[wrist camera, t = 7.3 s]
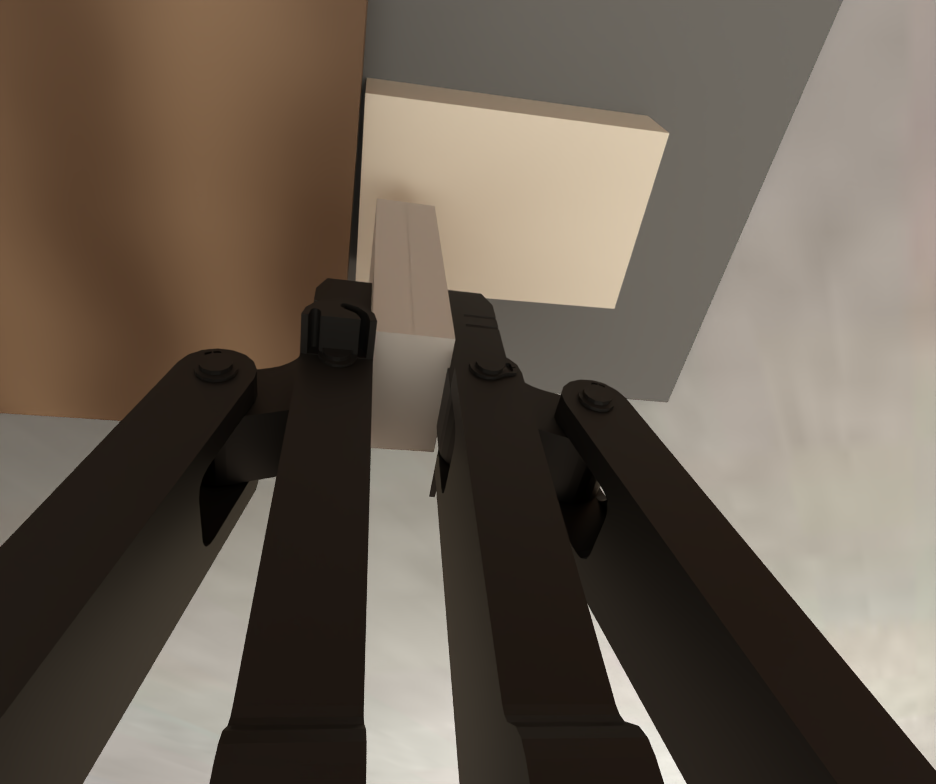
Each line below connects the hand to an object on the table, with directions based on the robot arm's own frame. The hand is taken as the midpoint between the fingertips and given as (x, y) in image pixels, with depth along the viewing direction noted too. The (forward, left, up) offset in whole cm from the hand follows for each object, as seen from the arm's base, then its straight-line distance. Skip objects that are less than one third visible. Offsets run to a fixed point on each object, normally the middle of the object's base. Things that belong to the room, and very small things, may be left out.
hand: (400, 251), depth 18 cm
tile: (+3, 0, -5) cm, 6 cm away
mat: (+6, 0, -6) cm, 8 cm away
